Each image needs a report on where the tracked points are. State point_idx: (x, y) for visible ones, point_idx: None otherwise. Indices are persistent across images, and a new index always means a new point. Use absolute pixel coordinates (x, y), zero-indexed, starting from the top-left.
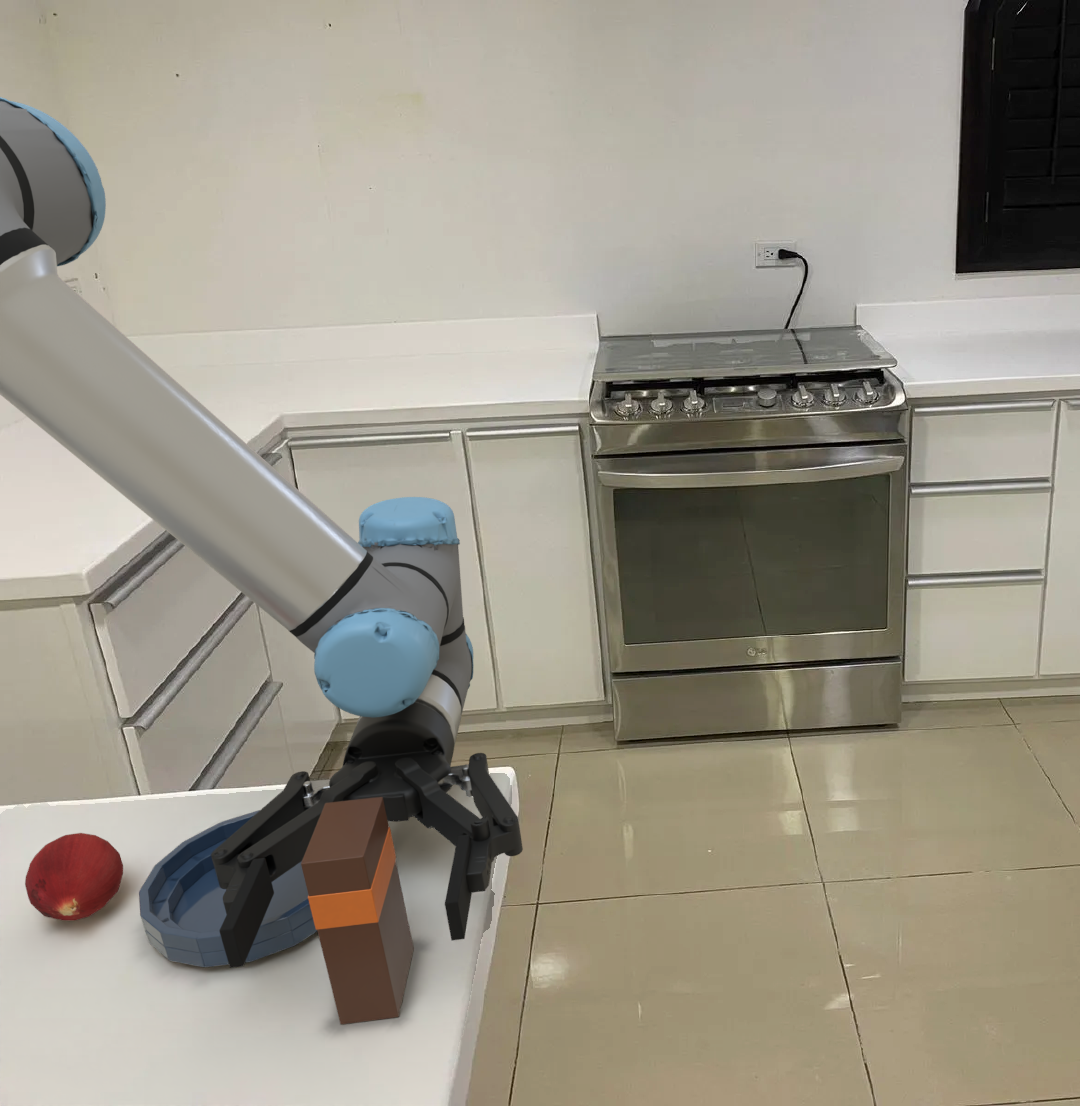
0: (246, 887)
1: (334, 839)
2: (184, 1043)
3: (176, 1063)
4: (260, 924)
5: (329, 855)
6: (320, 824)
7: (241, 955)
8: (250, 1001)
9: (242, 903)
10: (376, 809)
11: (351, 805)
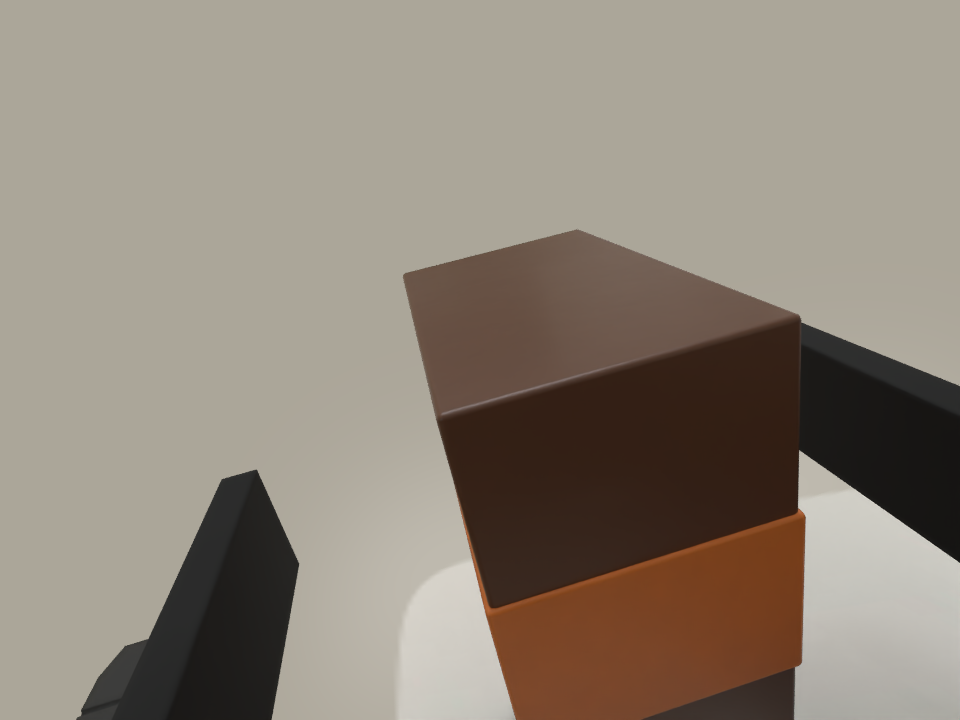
0: (918, 384)
1: (535, 267)
2: (940, 565)
3: (892, 532)
4: (884, 508)
5: (509, 251)
6: (660, 272)
7: None
8: (941, 687)
9: (842, 359)
10: (433, 357)
11: (597, 337)
